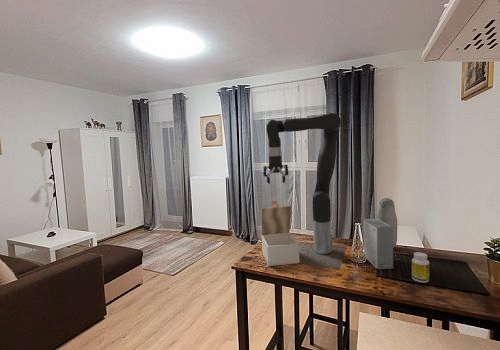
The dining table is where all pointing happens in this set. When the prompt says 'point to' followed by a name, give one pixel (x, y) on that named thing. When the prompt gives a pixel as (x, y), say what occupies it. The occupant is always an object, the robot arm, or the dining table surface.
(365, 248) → the hard drive box
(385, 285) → the dining table surface
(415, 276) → the pill bottle
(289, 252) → the carton
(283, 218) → the flap
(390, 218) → the grey bottle
